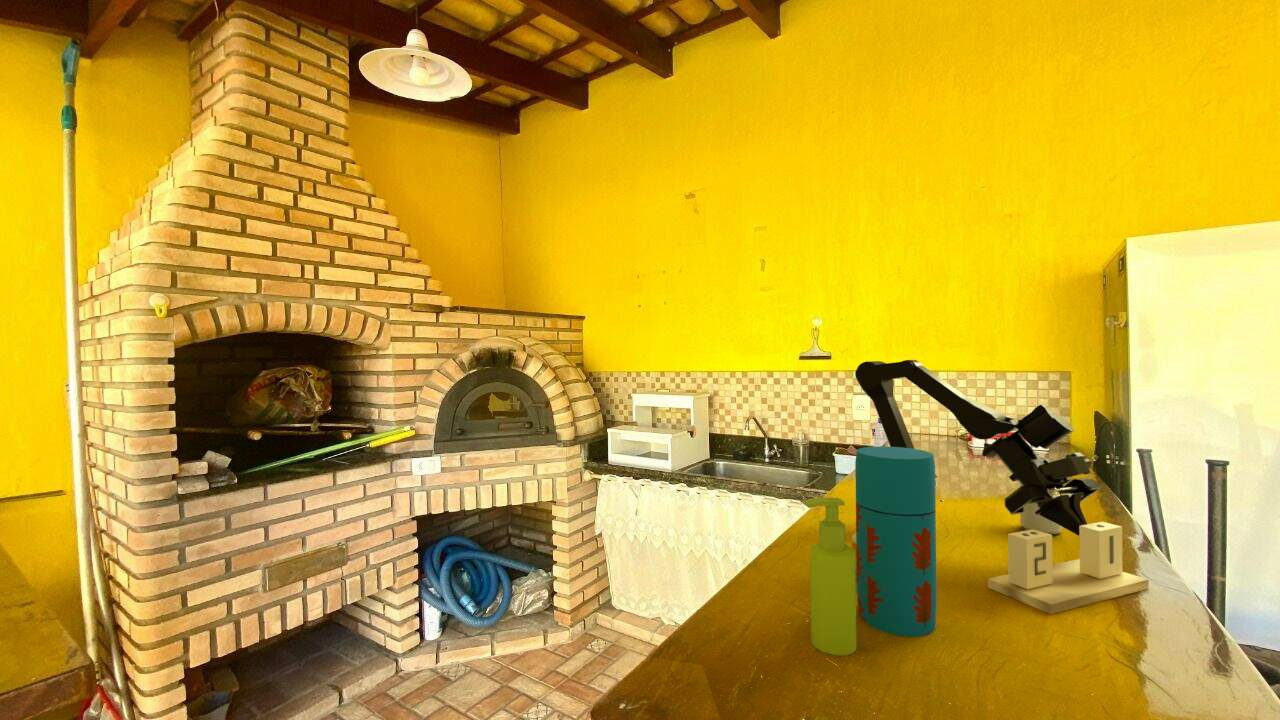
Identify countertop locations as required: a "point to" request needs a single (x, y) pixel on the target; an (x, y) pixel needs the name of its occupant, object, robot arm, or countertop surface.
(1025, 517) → the can
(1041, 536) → the cream numbered block 2
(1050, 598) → the beige wooden board
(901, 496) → the thermos
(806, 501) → the soap dispenser
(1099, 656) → the countertop surface
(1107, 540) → the cream numbered block 1
